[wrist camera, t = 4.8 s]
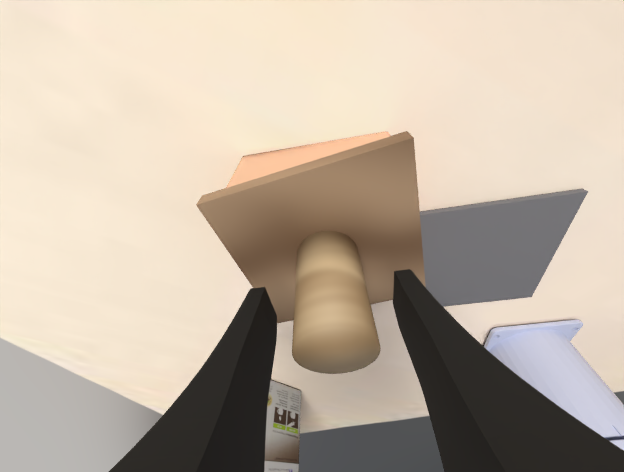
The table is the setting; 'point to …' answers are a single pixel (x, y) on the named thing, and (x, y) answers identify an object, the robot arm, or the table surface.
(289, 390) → the coffee box
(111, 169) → the table surface
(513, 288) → the mat
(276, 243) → the lid
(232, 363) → the robot arm
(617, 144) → the table surface
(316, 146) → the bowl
